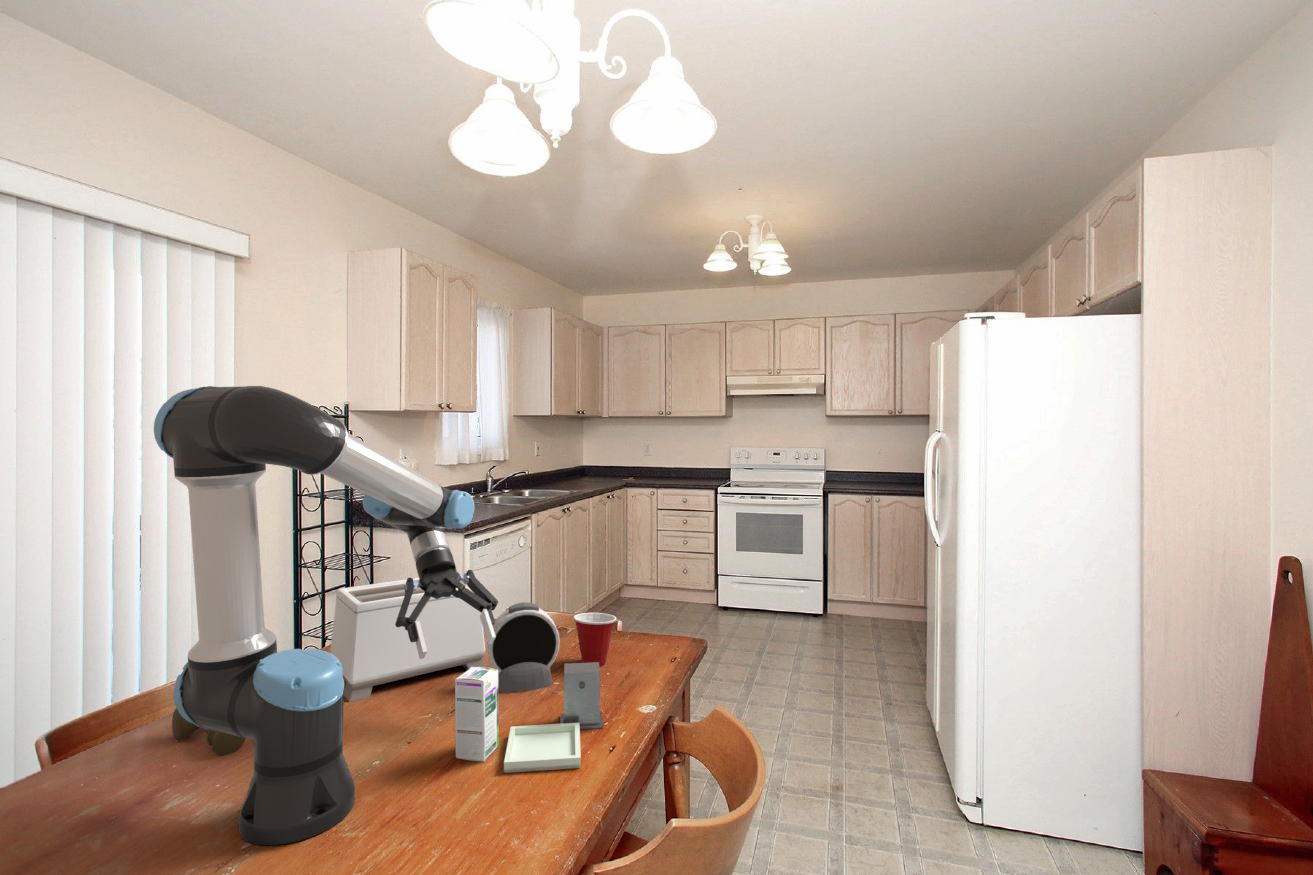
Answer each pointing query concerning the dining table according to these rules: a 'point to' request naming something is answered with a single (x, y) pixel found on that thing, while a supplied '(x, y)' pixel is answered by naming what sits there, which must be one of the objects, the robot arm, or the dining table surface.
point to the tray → (543, 747)
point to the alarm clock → (524, 648)
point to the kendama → (217, 739)
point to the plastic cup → (594, 636)
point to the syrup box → (476, 713)
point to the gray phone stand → (582, 695)
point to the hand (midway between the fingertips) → (459, 647)
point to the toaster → (400, 636)
